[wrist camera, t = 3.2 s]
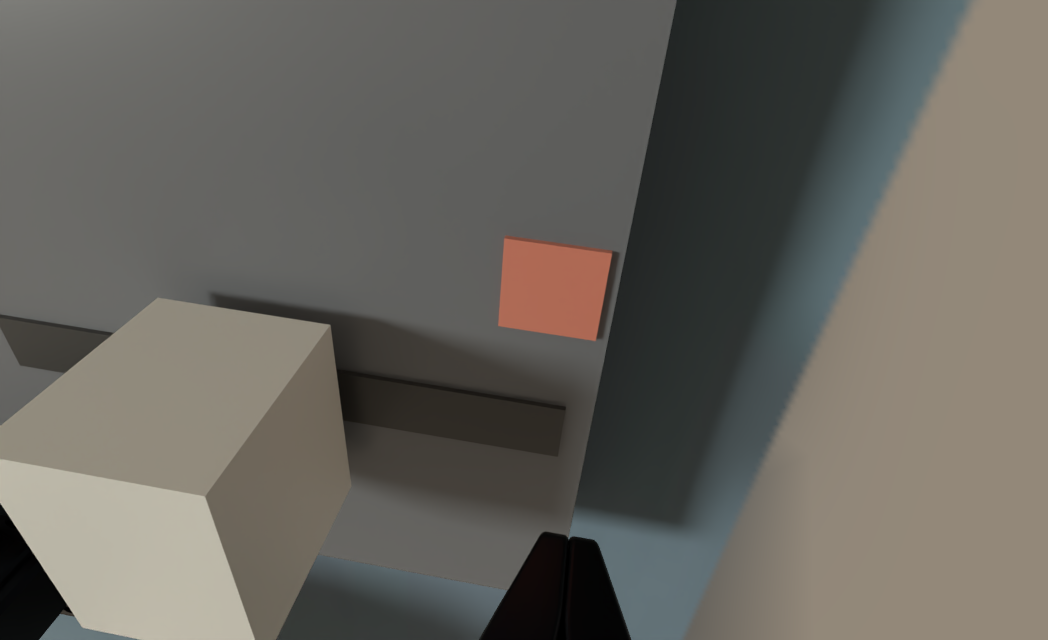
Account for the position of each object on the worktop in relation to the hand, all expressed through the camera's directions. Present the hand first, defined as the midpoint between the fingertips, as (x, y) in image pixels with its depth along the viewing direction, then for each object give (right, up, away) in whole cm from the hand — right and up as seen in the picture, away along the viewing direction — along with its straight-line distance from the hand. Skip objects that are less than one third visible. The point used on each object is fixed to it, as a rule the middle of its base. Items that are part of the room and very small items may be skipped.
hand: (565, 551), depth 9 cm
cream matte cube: (-5, +2, +2) cm, 6 cm away
